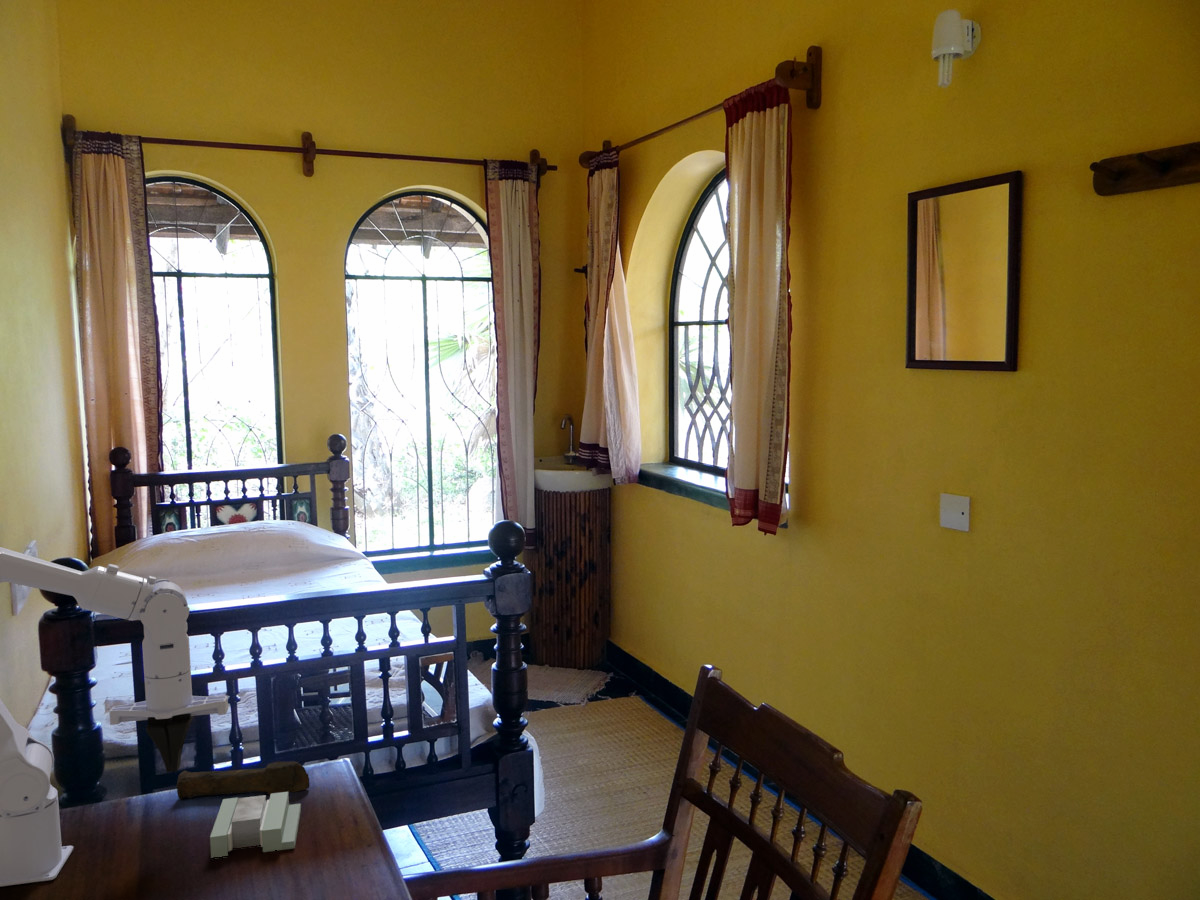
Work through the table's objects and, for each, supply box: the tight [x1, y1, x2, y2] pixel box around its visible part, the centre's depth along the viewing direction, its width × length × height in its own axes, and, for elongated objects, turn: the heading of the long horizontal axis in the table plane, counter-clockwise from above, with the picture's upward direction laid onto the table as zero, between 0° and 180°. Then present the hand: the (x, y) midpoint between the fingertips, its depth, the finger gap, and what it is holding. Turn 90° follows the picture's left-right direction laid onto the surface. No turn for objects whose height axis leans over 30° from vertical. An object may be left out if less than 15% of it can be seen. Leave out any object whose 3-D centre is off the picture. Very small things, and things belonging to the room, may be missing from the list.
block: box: [231, 794, 267, 849], centre depth 129 cm, size 4×7×4 cm, turn 13°
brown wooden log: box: [176, 760, 310, 800], centre depth 141 cm, size 19×4×5 cm, turn 93°
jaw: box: [209, 797, 239, 858], centre depth 128 cm, size 2×11×3 cm, turn 13°
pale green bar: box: [260, 792, 302, 853], centre depth 130 cm, size 4×11×3 cm, turn 13°
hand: (173, 768), depth 128 cm, fingers closed
